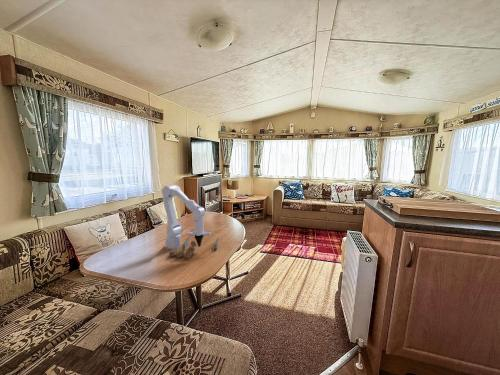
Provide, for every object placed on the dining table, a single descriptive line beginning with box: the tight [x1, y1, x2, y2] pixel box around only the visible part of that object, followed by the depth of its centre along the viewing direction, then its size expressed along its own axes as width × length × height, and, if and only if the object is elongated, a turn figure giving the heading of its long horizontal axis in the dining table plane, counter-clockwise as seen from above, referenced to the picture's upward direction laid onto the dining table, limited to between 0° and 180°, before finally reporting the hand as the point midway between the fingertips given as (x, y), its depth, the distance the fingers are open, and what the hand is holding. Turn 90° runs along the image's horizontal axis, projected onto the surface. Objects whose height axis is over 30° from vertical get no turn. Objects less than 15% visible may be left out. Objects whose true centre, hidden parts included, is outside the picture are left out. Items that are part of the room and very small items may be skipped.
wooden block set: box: [168, 240, 198, 260], centre depth 128 cm, size 18×9×10 cm
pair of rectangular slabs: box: [182, 237, 220, 252], centre depth 141 cm, size 22×12×4 cm, turn 93°
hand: (199, 245), depth 133 cm, fingers closed
